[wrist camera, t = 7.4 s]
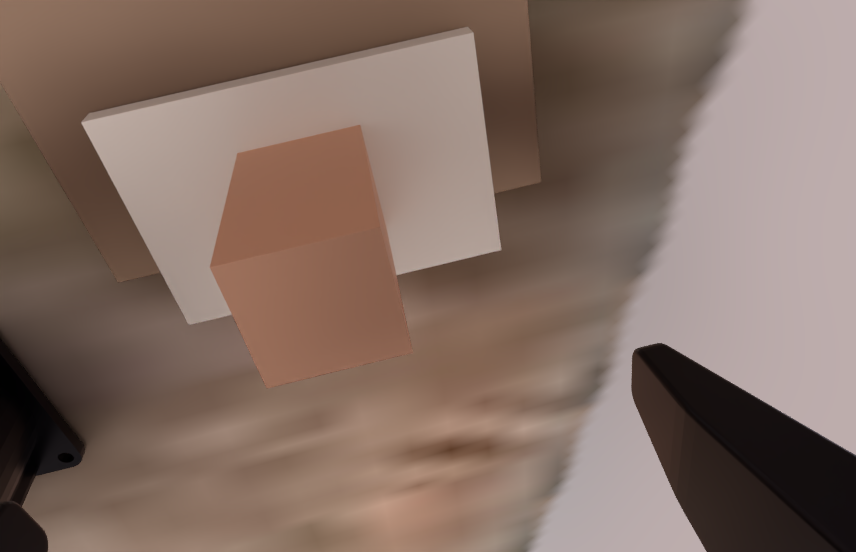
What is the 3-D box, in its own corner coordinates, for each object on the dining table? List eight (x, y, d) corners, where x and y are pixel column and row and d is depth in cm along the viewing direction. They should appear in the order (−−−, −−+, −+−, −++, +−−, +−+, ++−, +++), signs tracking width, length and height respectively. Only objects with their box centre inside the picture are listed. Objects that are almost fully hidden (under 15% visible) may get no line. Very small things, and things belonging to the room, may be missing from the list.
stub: (495, 239, 18) (560, 370, 13) (191, 312, 18) (151, 471, 13) (467, 26, 14) (542, 104, 10) (88, 113, 14) (-17, 234, 10)
